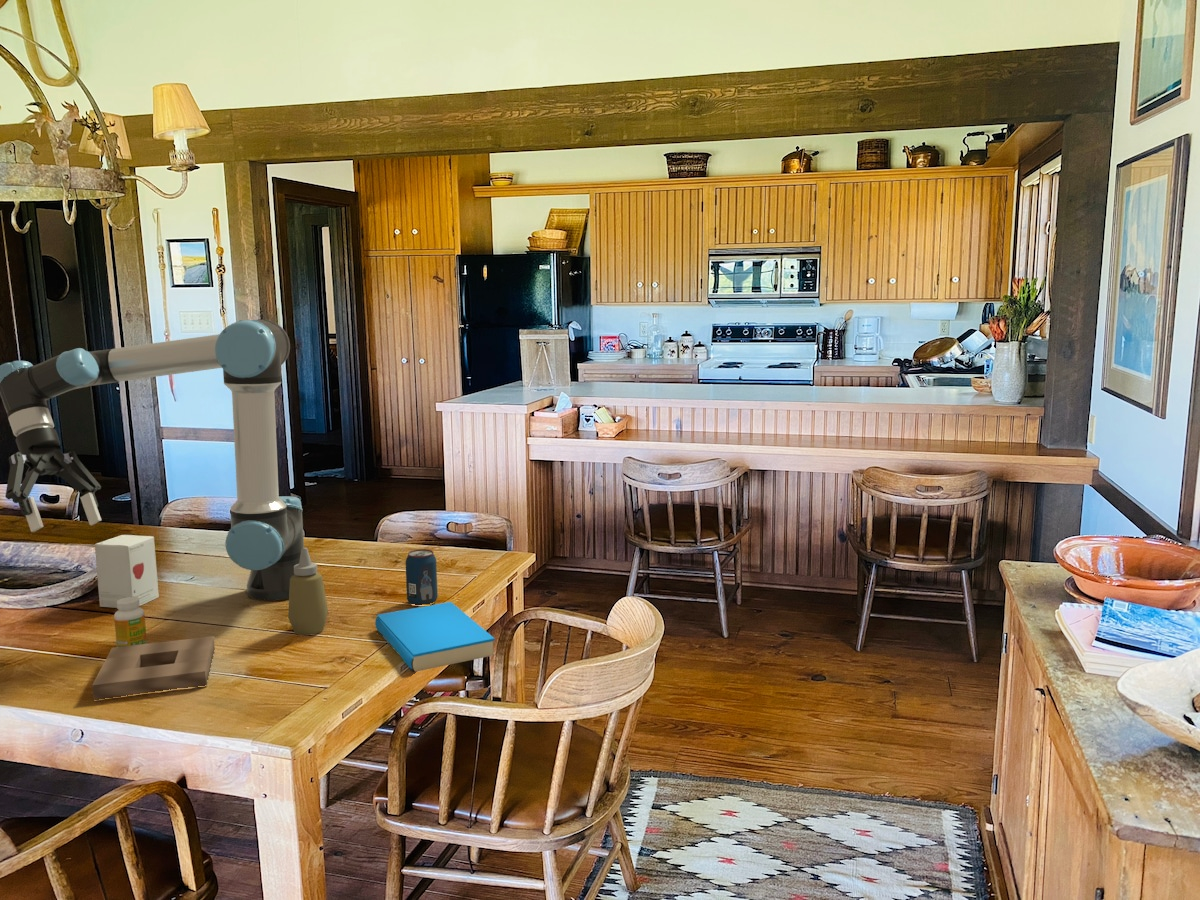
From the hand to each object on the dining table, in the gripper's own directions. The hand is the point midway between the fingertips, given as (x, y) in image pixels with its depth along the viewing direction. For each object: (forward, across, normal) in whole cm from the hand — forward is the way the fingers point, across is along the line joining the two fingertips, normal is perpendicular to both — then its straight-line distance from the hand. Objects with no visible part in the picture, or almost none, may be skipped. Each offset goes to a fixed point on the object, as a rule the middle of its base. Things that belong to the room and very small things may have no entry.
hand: (67, 526), depth 184 cm
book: (+52, -21, +57) cm, 80 cm away
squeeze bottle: (+40, -18, +32) cm, 54 cm away
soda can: (+43, -41, +46) cm, 75 cm away
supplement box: (+16, -20, -13) cm, 29 cm away
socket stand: (+37, +9, +19) cm, 43 cm away
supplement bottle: (+29, 0, +6) cm, 29 cm away
